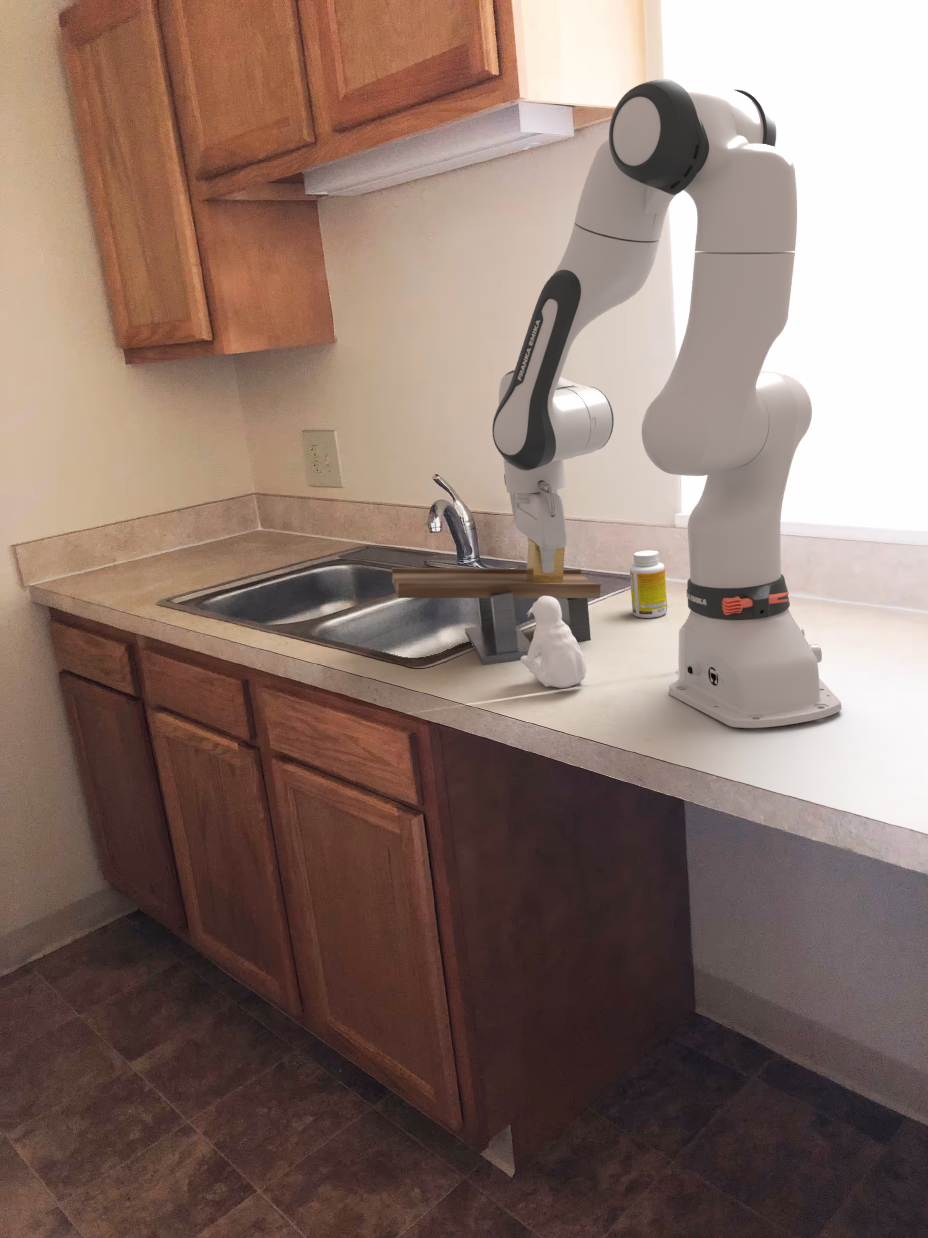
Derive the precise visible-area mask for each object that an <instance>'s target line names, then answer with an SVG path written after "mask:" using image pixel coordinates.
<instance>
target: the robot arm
mask: <svg viewBox="0 0 928 1238" xmlns="http://www.w3.org/2000/svg"><path fill="white" fill-rule="evenodd" d="M776 142H777V125H776V120H775V117H774V114H773V112H771V109H770V108H769V107H768V106H767V104H766V103H765V102H764V101H763V100H761V99H760V98H759V97H757V96H755V95H754V94H753V93H751V92H750V93H749V92H747V91H746V90H741V89H731V88H727V87H723V86H719V85H716V84H713V83H710V82H708V81H701V80H700V81H697V80H673V79H668V78H662V79H661V78H660V79H654V80H650V81H646V82H644V83H643V82H642V83H641V84H638V85H636V86H634V87H632V88H631V89H629V90H628V91H627V92H626V93H625V94H624V95H623V96H622V97H621V99H620V100H619V101H618V102H617V105H616V106H615V108H614V111H613V113H612V115H611V119H610V122H609V130H608V138H607V139H606V140H605V141H604V142H603V143H601V145H600V146H599V147H598V149H597V151H596V153H595V155H594V157H593V160H592V163H591V164H590V165H591V166H590V168H589V170H588V174H587V176H586V178H585V182H584V185H583V188H582V190H581V195H580V197H579V198H580V199H579V202H578V205H577V210H576V214H575V219H574V222H573V227H572V232H571V234H570V238H569V241H568V244H567V246H566V249H565V252H564V254H563V256H562V258H561V260H560V262H559V264H558V266H557V268H556V269H555V270H554V272H553V274H552V275H551V276H550V277H549V279H548V280H547V281H546V282H545V283H544V286H543V288H542V289H541V292H540V294H539V296H538V299H537V301H536V304H535V307H534V310H533V312H532V316H531V319H530V322H529V324H528V328H527V330H526V331H527V332H526V334H525V336H524V337H525V338H524V340H523V344H522V346H521V349H520V352H519V356H518V359H517V362H516V366H515V368H514V369H513V370H511V371H509V372H507V373H505V375H503V376H502V377H501V380H500V384H499V390H498V406H497V409H496V411H495V414H494V417H493V421H492V430H491V431H492V439H493V443H494V445H495V448H496V449H497V451H498V453H499V454H500V455H501V457H502V458H503V468H504V474H503V477H504V479H503V480H504V485H505V487H506V493H508V494H509V499H510V505H511V510H512V515H513V520H514V524H515V527H516V530H518V531H519V532H520V533H521V534H523V535H524V536H525V537H527V540H528V539H531V540H532V541H533V542H535V543H536V544H537V545H539V550H540V552H541V560H540V565H541V570H542V571H543V572H544V573H551V572H553V571H554V556H555V549H557V548H563V547H565V548H566V545H567V541H568V535H567V534H568V533H567V526H566V519H565V510H564V505H563V501H562V500H563V499H562V498H561V496H560V494H558V490H560V489H563V488H564V487H565V486H566V479H565V478H566V477H565V475H566V474H565V465H564V460H569V459H572V458H575V457H579V456H585V455H588V454H591V453H594V452H596V451H598V450H600V449H603V448H604V447H605V446H606V445H607V443H608V442H609V440H610V438H611V436H612V433H613V429H614V411H613V408H612V405H611V402H610V401H609V399H608V397H607V396H606V395H605V394H604V393H603V392H602V391H601V390H600V389H598V388H597V387H595V386H586V385H584V384H580V383H577V382H573V381H571V380H568V379H566V378H564V377H562V373H563V369H564V367H565V364H566V361H567V358H568V356H569V352H570V349H571V346H572V344H574V341H575V340H576V338H577V337H578V335H579V334H580V333H581V332H582V330H584V328H586V327H587V326H588V325H589V324H590V323H591V322H593V321H594V320H596V319H597V318H598V317H600V316H601V315H603V314H605V313H606V312H608V311H610V310H612V309H613V308H615V307H617V306H619V305H621V304H623V303H625V302H626V301H628V300H630V299H631V298H632V297H634V296H635V295H636V294H637V293H639V292H640V290H641V289H642V288H643V287H644V285H645V283H646V281H647V279H648V277H649V275H650V274H651V271H652V269H653V266H654V264H655V260H656V257H657V253H658V248H659V244H660V240H661V236H662V232H663V227H664V222H665V218H666V214H667V212H668V209H669V206H670V204H671V202H672V200H673V199H674V198H675V197H676V196H677V195H678V194H679V193H681V192H682V191H684V192H685V193H687V194H688V195H689V196H690V198H691V199H692V200H693V202H694V204H695V205H694V206H695V208H696V213H697V215H696V216H697V219H696V220H697V221H696V222H697V223H696V224H697V225H696V233H695V234H696V235H695V247H694V251H695V252H694V257H693V259H694V260H693V269H692V270H693V271H692V273H693V274H692V282H691V283H692V285H691V292H690V293H691V295H690V303H689V314H688V319H687V325H686V330H685V334H684V337H683V339H682V342H681V346H680V348H679V351H678V352H679V353H678V355H677V357H676V360H675V363H674V365H673V368H672V370H671V372H670V375H669V377H668V379H667V381H666V384H665V385H664V387H663V388H662V389H661V391H660V393H658V394H657V396H656V397H655V398H654V400H652V401H651V403H649V405H648V407H647V408H646V410H645V413H644V416H643V418H642V423H641V439H642V441H641V442H642V445H643V448H644V451H645V453H646V455H647V458H649V460H650V462H652V463H653V465H655V467H657V468H658V469H659V470H660V471H662V472H664V473H666V474H670V475H676V476H686V477H687V476H690V477H691V476H692V477H704V476H706V480H705V483H704V488H703V491H702V493H701V496H700V498H699V500H698V502H697V503H696V506H694V508H693V509H692V511H691V513H690V514H689V518H688V521H687V539H688V556H689V557H688V558H689V559H688V560H689V561H688V562H689V576H690V578H688V580H687V582H686V583H687V585H686V587H687V588H686V597H687V607H688V609H689V610H690V612H689V614H688V616H687V618H686V620H685V622H684V623H683V625H682V626H681V627H680V628H679V630H678V631H679V632H678V673H677V674H678V679H677V680H676V681H674V682H672V683H671V684H669V686H668V694H669V695H670V696H671V697H673V698H676V699H678V700H679V701H681V702H683V703H685V704H687V705H689V706H690V707H693V708H695V709H696V710H698V711H700V712H702V713H704V714H706V715H708V716H710V717H711V718H713V719H715V720H717V721H719V722H721V723H723V724H725V725H727V726H729V727H731V728H741V729H742V728H744V729H755V728H757V729H758V728H760V729H761V728H770V727H779V726H780V727H781V726H787V725H788V726H789V725H794V724H799V723H800V724H801V723H806V722H811V721H816V720H819V719H823V718H826V717H830V716H832V715H834V714H837V713H838V712H840V711H841V710H842V709H843V708H842V702H841V701H840V699H839V698H838V697H837V696H836V695H835V694H834V693H833V691H832V690H831V689H830V688H829V687H828V685H826V684H825V683H824V682H823V680H821V678H820V674H819V672H820V671H819V665H818V663H820V662H821V661H822V659H823V658H822V657H823V653H822V648H821V646H820V644H817V643H814V644H813V643H812V644H809V642H808V641H807V639H806V637H805V630H804V628H803V627H800V626H799V625H798V623H797V622H796V620H795V619H794V617H793V615H792V613H791V612H790V609H789V608H790V606H791V603H790V597H789V594H790V593H789V590H788V586H787V584H786V578H785V576H784V575H783V573H782V560H781V559H782V558H781V556H782V555H781V551H782V550H781V520H782V508H783V502H784V501H783V500H784V497H785V491H786V487H787V482H788V479H789V474H790V470H791V466H792V462H793V459H794V456H795V454H796V451H797V448H798V447H799V445H800V443H801V441H802V439H803V438H804V437H805V435H806V434H807V432H808V430H809V428H810V425H811V421H812V416H813V408H812V402H811V398H810V396H809V393H808V391H807V390H806V388H805V387H804V386H803V384H802V383H801V382H800V381H798V380H797V379H796V378H795V377H792V376H790V375H786V374H782V373H777V372H772V371H768V370H767V371H765V370H762V368H763V365H764V362H765V360H766V358H767V355H768V354H769V351H770V349H771V347H772V346H773V344H774V343H775V341H776V339H777V338H778V337H779V336H780V335H781V333H782V332H783V331H784V329H785V328H786V325H787V323H788V319H789V310H790V300H791V294H792V293H791V292H792V283H793V275H794V265H795V264H794V263H795V256H796V253H795V252H796V247H797V246H796V245H797V244H796V243H797V229H798V228H797V226H798V195H797V181H796V180H797V179H796V170H795V166H794V163H793V161H792V160H791V158H790V156H788V154H786V153H785V152H784V151H782V150H781V149H779V148H777V147H776V144H777V143H776Z"/></svg>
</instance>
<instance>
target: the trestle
mask: <svg viewBox="0 0 928 1238" xmlns="http://www.w3.org/2000/svg"><path fill="white" fill-rule="evenodd" d="M476 599H477V611H478V616H479V617H478V618H479V626H473V627H466V628H465V627H464V633H465V636H466V637H467V639H468V641H469V642H472V644H473V646H472V648H473V647H474V648H473V649H475V650H474V651H475V654H476V655H477V657H478V659H479V660H480V662H481V664H482V665H483V666H486V665H487V664H488V665H494V664H500V663H507V662H512V661H513V662H515V661H521V657H522V656H527V655H528V651H529V648H530V645H531V641H529V639H528V638H527V637H526V636H525V634H524V633H523V632H522V631H521V629H520V628H519V627H518V626H517V623H516V621H517V620H516V613H515V602H514V598H513V593H512V592H511V591H505V592H498V593H491V598H476ZM555 599H557V600H558V602H559V604H560V607H561V612H562V621H563V622H564V623H565V624H566V625H568V626H569V628H570V630H571V632H572V635H573V636H574V637H575V639H576V640H577V643H579V642H585V641H591V640H592V639H591V629H590V628H591V627H590V615H589V614H590V613H589V612H590V611H589V602H588V601H589V600H588V599H589V598H555ZM472 644H471V645H472ZM488 665H487V666H488Z"/></svg>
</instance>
